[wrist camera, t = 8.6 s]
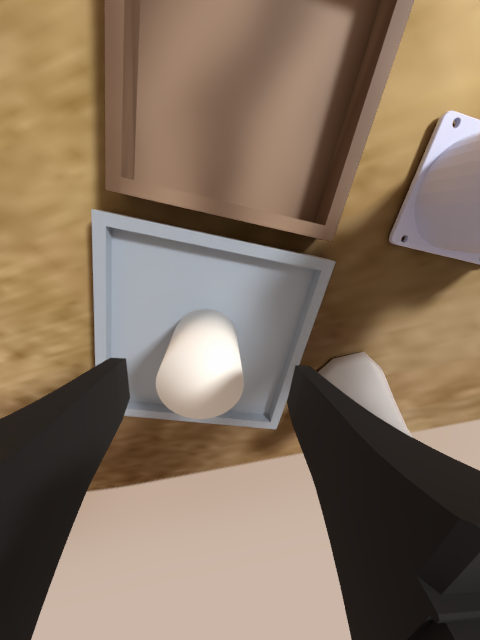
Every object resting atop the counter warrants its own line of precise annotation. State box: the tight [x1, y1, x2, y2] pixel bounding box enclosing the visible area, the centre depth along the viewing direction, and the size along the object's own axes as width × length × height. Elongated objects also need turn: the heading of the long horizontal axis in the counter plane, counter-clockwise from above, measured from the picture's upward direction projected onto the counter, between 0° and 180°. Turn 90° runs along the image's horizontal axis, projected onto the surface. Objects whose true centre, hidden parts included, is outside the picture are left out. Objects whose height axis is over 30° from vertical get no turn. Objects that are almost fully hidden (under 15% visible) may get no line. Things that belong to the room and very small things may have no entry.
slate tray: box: [91, 209, 336, 429], centre depth 19 cm, size 16×16×2 cm
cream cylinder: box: [156, 309, 244, 419], centre depth 16 cm, size 5×5×6 cm
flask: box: [318, 352, 413, 438], centre depth 18 cm, size 7×7×10 cm
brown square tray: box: [105, 0, 414, 242], centre depth 13 cm, size 14×14×2 cm
